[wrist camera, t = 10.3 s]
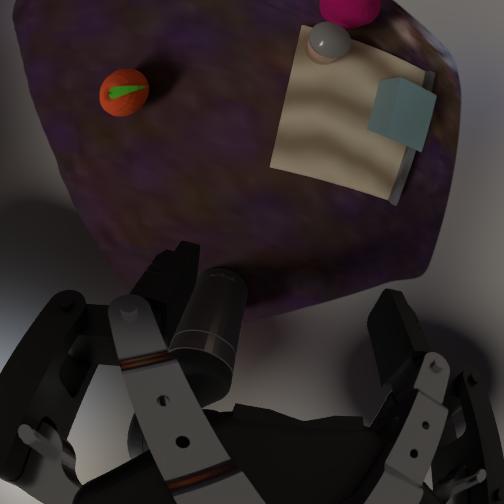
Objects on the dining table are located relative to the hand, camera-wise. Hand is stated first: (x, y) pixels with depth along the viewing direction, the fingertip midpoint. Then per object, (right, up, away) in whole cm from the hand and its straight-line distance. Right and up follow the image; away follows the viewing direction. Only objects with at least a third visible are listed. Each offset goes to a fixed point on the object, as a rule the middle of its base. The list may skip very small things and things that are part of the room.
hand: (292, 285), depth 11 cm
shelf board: (+11, +20, +19) cm, 30 cm away
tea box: (+16, +19, +17) cm, 30 cm away
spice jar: (+7, +26, +14) cm, 30 cm away
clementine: (-18, +24, +20) cm, 36 cm away
